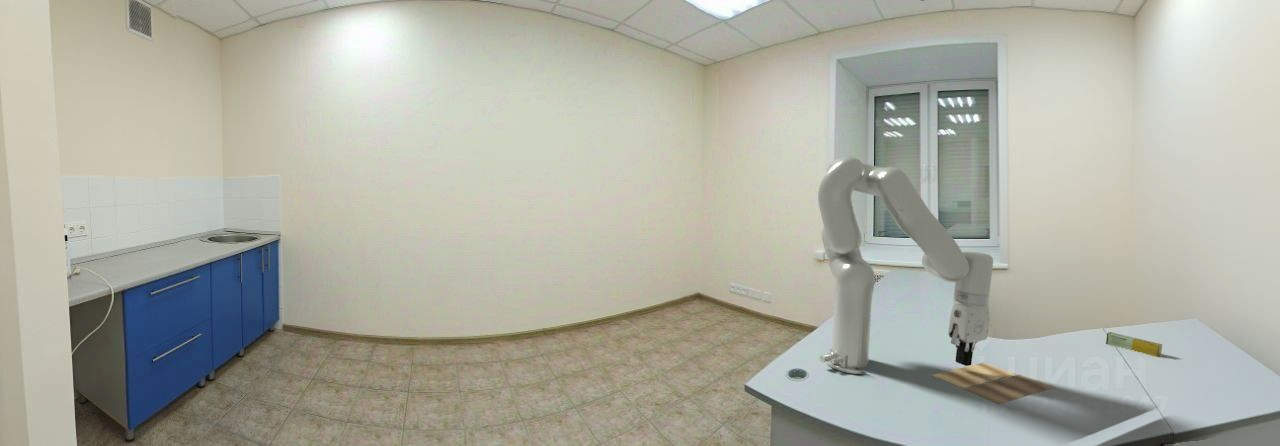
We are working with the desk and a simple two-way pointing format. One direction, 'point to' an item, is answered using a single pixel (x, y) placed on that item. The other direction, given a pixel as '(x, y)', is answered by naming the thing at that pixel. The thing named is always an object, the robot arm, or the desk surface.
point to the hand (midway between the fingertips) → (963, 363)
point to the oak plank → (973, 375)
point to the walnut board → (1009, 388)
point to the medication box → (1134, 344)
